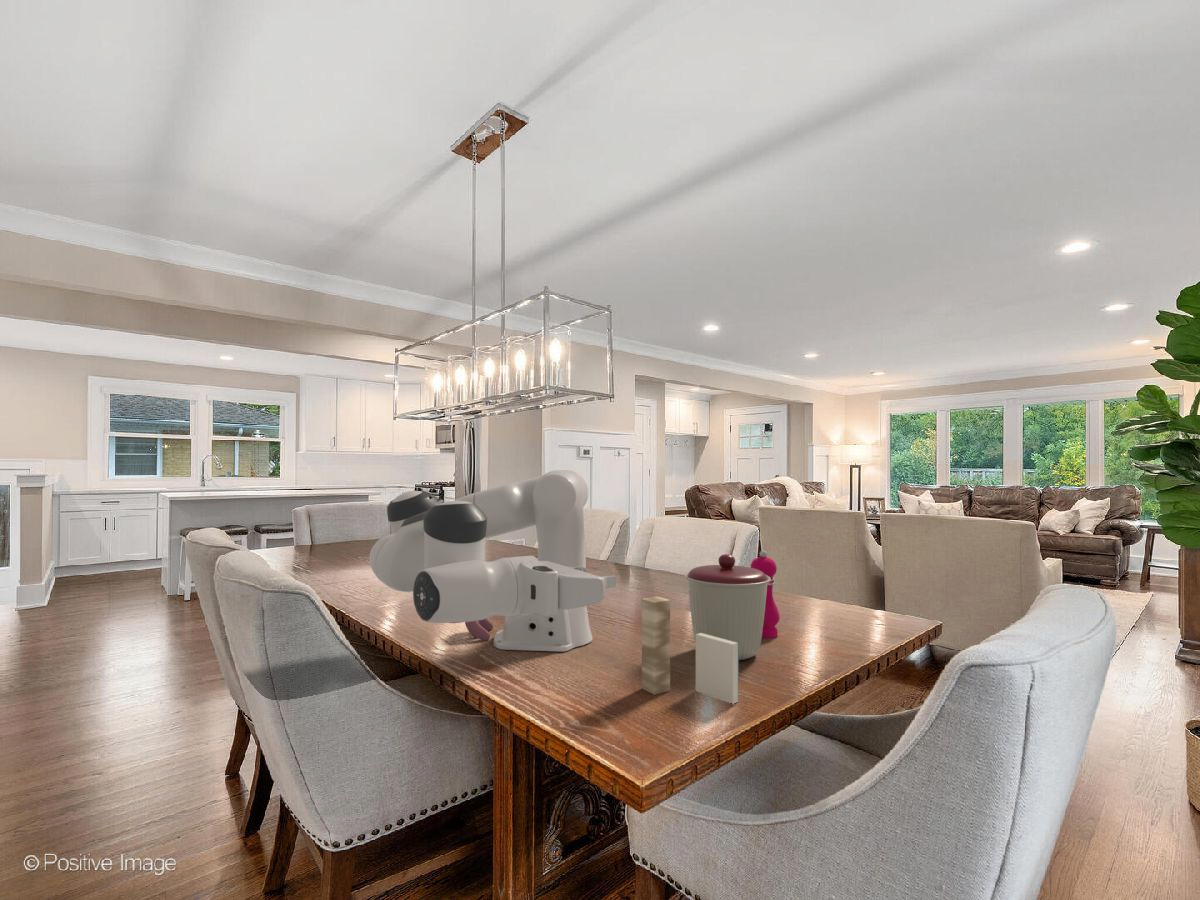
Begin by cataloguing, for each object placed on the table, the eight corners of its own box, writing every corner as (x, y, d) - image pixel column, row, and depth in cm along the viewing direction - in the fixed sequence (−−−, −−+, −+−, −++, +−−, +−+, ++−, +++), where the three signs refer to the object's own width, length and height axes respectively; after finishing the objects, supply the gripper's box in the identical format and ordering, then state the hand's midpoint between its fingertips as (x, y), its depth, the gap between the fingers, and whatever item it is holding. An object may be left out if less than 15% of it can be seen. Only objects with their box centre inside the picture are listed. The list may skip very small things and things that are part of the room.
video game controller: (478, 636, 144) (465, 610, 144) (495, 627, 145) (482, 602, 145) (472, 648, 134) (459, 621, 134) (491, 639, 135) (477, 611, 135)
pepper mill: (776, 631, 144) (776, 548, 144) (782, 639, 137) (782, 552, 137) (746, 630, 145) (745, 548, 145) (750, 638, 137) (750, 552, 138)
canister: (715, 636, 139) (715, 546, 140) (787, 653, 126) (786, 554, 127) (667, 653, 127) (667, 554, 127) (740, 674, 114) (740, 564, 114)
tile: (732, 704, 99) (732, 644, 100) (695, 691, 105) (695, 634, 106) (738, 702, 100) (738, 642, 101) (701, 688, 106) (701, 632, 107)
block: (653, 694, 103) (654, 602, 104) (641, 688, 106) (641, 598, 107) (670, 690, 105) (670, 600, 106) (657, 684, 108) (657, 596, 109)
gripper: (497, 593, 101) (568, 584, 109) (553, 619, 84) (632, 606, 91) (497, 555, 101) (568, 550, 109) (553, 574, 84) (632, 565, 91)
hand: (598, 576), depth 100 cm, fingers open, 8 cm apart
